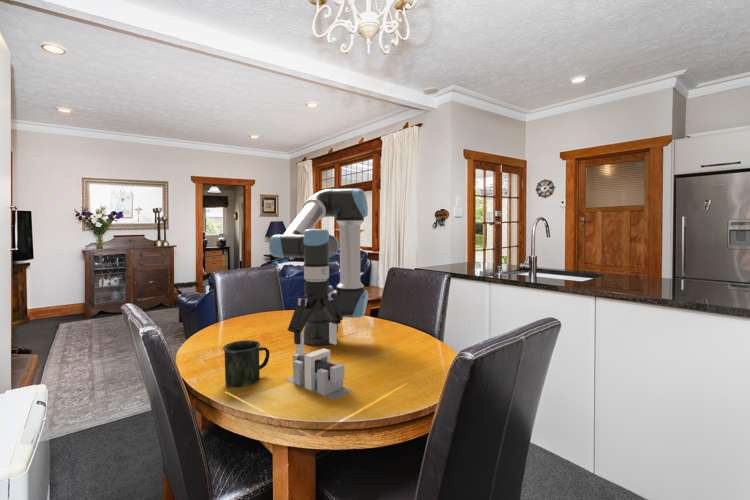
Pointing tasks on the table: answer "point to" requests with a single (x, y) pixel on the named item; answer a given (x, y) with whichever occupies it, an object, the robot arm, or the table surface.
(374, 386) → the table surface
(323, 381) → the cradle
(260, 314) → the table surface
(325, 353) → the u-shaped clip
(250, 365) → the mug
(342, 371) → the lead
